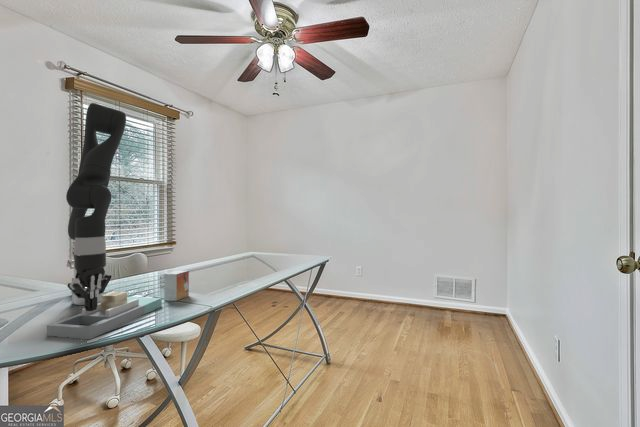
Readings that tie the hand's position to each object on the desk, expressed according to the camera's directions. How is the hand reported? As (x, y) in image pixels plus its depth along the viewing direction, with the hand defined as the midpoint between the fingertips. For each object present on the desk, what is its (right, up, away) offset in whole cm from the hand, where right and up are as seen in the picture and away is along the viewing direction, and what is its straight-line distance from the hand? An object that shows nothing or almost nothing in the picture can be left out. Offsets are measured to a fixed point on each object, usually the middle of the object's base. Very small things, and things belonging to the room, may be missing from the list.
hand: (91, 310), depth 91 cm
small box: (+11, -5, +32) cm, 34 cm away
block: (+1, -2, +9) cm, 9 cm away
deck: (+1, -5, +8) cm, 10 cm away
